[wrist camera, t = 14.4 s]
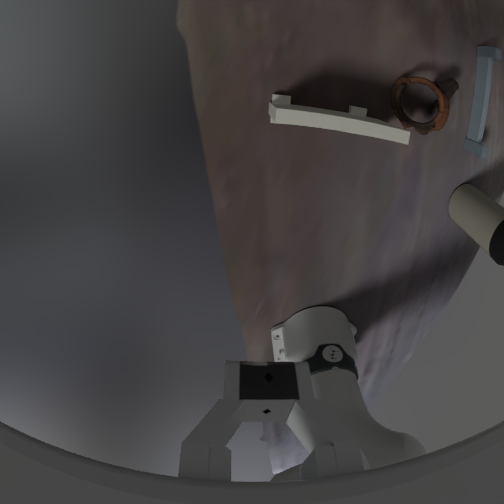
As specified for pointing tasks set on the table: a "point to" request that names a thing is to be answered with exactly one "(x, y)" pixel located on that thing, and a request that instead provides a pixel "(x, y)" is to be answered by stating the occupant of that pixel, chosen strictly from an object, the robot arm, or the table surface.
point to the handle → (481, 100)
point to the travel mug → (479, 219)
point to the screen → (334, 119)
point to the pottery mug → (443, 94)
